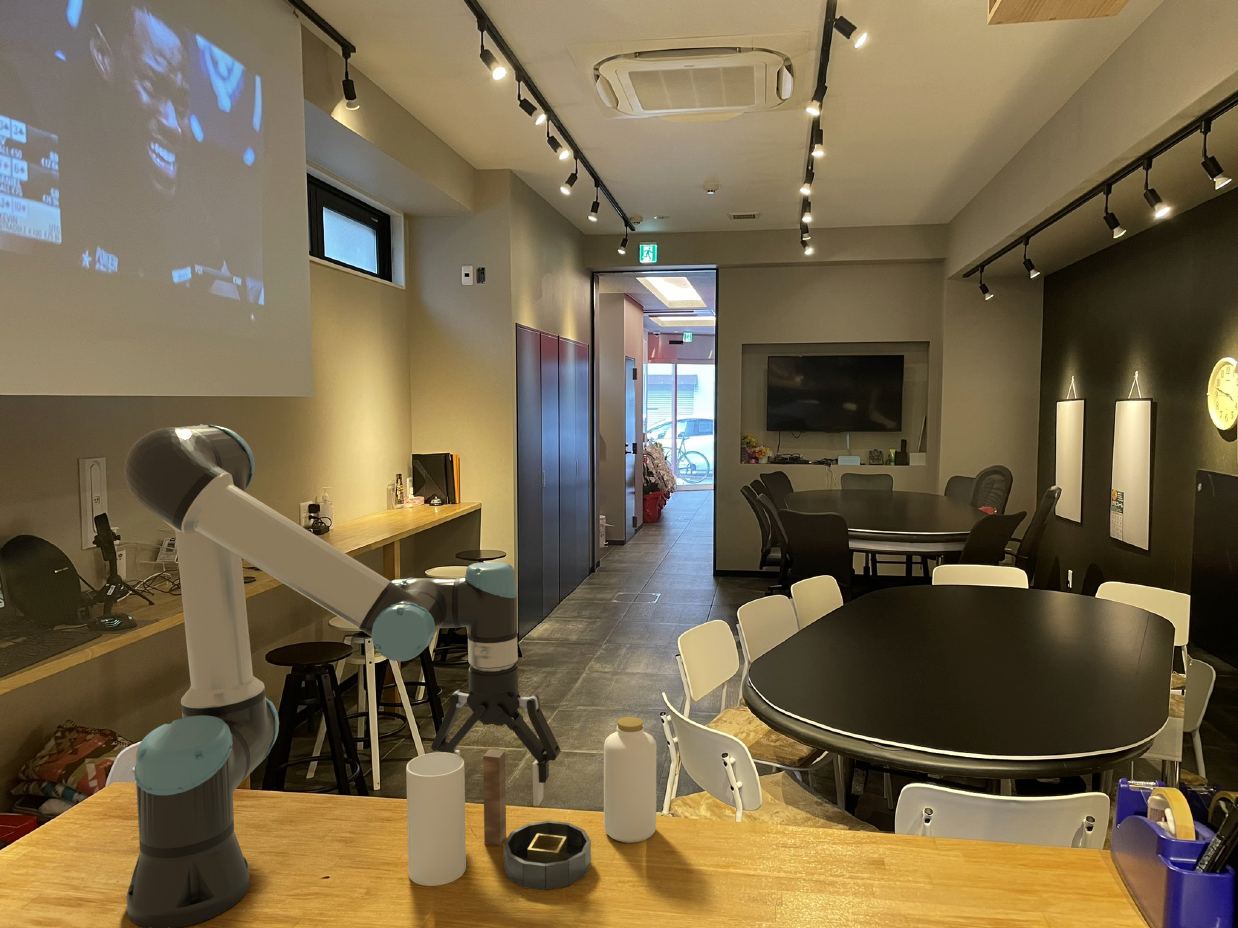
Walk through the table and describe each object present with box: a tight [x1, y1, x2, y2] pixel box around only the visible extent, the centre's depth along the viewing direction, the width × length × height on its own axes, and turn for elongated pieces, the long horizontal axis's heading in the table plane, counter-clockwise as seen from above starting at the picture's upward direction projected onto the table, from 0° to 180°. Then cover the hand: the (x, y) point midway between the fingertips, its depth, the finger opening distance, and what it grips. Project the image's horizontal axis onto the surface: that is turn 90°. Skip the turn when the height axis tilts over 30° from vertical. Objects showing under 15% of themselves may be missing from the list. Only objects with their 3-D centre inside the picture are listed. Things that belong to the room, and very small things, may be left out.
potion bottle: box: [603, 716, 657, 844], centre depth 134 cm, size 8×8×18 cm
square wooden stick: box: [482, 748, 507, 847], centre depth 131 cm, size 3×3×14 cm
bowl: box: [503, 820, 592, 891], centre depth 125 cm, size 12×12×4 cm
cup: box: [405, 751, 467, 887], centre depth 123 cm, size 8×8×16 cm
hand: (496, 797), depth 131 cm, fingers open, 13 cm apart
